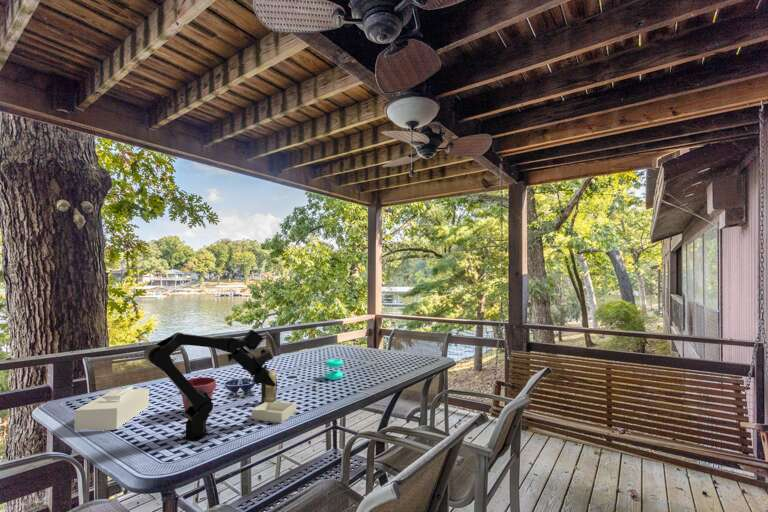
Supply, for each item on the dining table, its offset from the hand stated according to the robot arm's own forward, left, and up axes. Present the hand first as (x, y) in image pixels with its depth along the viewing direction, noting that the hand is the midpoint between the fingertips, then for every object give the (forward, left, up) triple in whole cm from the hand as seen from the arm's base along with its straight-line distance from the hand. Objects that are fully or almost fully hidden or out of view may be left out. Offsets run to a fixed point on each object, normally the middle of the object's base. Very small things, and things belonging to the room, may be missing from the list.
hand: (274, 384), depth 152 cm
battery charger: (+18, +13, -14) cm, 26 cm away
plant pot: (-1, +36, -14) cm, 39 cm away
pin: (-1, +1, -7) cm, 7 cm away
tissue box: (-17, +63, -15) cm, 67 cm away
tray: (+3, +1, -14) cm, 14 cm away
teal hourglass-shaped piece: (+63, -1, -14) cm, 64 cm away
